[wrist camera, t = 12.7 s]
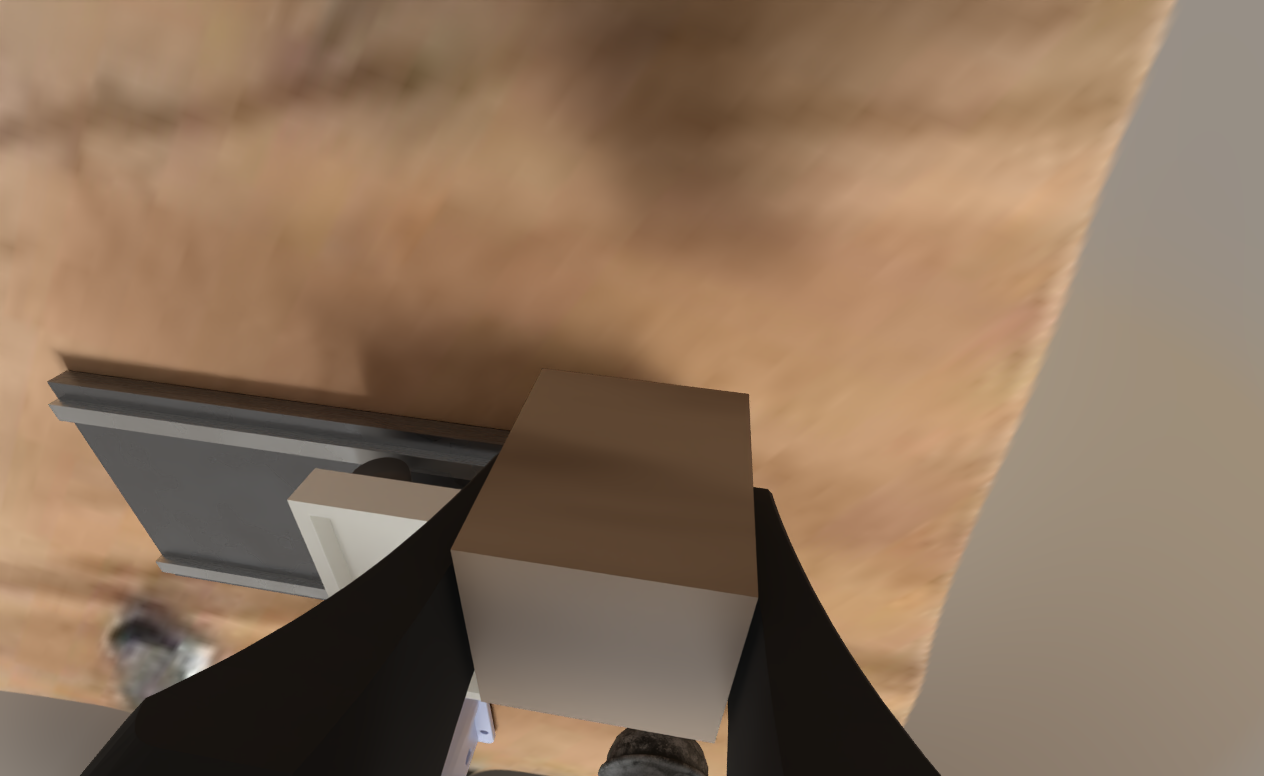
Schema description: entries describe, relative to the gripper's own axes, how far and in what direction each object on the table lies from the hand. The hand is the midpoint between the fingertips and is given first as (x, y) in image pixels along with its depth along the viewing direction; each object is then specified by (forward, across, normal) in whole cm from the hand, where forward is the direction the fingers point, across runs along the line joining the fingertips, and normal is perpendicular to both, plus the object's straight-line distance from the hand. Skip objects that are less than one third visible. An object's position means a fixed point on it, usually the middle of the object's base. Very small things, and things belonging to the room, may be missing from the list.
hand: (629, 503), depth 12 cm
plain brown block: (+2, 0, 0) cm, 2 cm away
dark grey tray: (+7, +11, +10) cm, 17 cm away
